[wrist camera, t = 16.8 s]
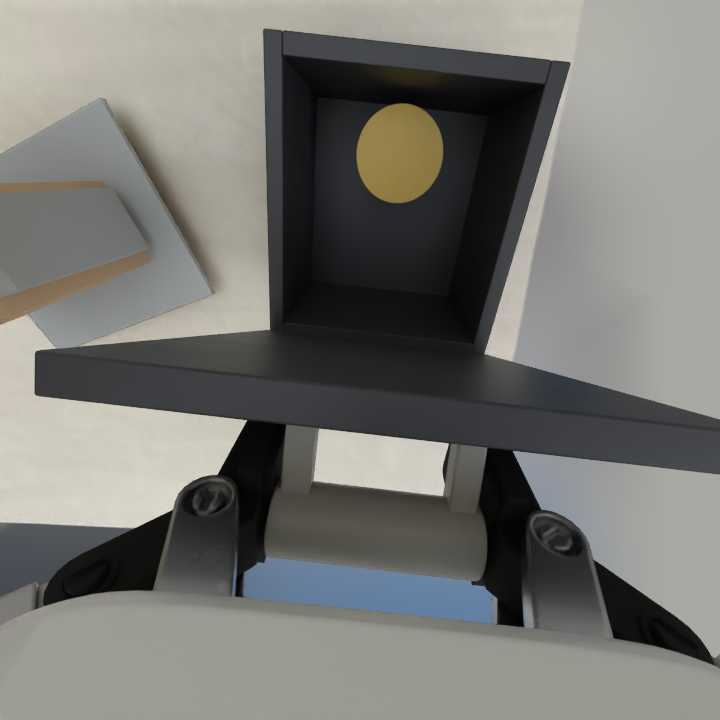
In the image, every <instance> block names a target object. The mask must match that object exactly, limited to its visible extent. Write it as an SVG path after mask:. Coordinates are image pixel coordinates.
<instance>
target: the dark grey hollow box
mask: <svg viewBox="0 0 720 720" xmlns="http://www.w3.org/2000/svg"><path fill="white" fill-rule="evenodd" d="M263 40H264V83H265V126H266V169H267V212H268V255H269V298H270V330H274V331H283V332H292V333H301V334H309V335H318V336H327V337H336V338H344V339H353V340H362V341H371V342H380V343H388V344H397V345H406V346H415V347H423V348H432V349H441V350H450V351H459V352H467V353H476V354H484V353H485V350H486V346H487V343H488V339H489V336H490V333H491V329H492V326H493V323H494V319H495V316H496V313H497V309H498V306H499V303H500V299H501V296H502V292H503V289H504V286H505V282H506V279H507V276H508V272H509V269H510V266H511V262H512V259H513V256H514V252H515V249H516V245H517V242H518V239H519V235H520V232H521V229H522V225H523V222H524V219H525V215H526V212H527V209H528V205H529V202H530V198H531V195H532V192H533V188H534V185H535V182H536V178H537V175H538V172H539V168H540V165H541V162H542V158H543V155H544V151H545V148H546V145H547V141H548V138H549V135H550V131H551V128H552V125H553V121H554V118H555V114H556V111H557V108H558V104H559V101H560V98H561V94H562V91H563V88H564V84H565V81H566V78H567V74H568V71H569V67H570V62H563V61H554V60H553V61H551V60H547V59H537V58H528V57H519V56H510V55H501V54H492V53H483V52H474V51H465V50H456V49H447V48H438V47H429V46H420V45H411V44H402V43H392V42H383V41H374V40H365V39H356V38H347V37H338V36H329V35H320V34H311V33H302V32H293V31H283V32H282V31H281V30H273V29H264V30H263ZM399 103H406V104H412V105H415V106H417V107H419V108H421V109H423V110H424V111H426V112H427V113H428V114H429V115H430V116H431V117H432V118H433V120H434V121H435V123H436V124H437V126H438V128H439V131H440V133H441V137H442V141H443V160H442V164H441V168H440V171H439V174H438V176H437V178H436V179H435V181H434V183H433V184H432V185H431V187H430V188H429V189H428V190H427V191H426V192H425V193H424V194H422V195H421V196H419V197H418V198H416V199H414V200H411V201H409V202H405V203H391V202H387V201H384V200H381V199H379V198H378V197H376V196H375V195H373V194H372V193H371V192H370V191H369V190H368V188H367V187H366V186H365V184H364V183H363V181H362V179H361V177H360V174H359V171H358V167H357V159H356V154H357V145H358V141H359V137H360V135H361V132H362V130H363V128H364V126H365V125H366V123H367V122H368V121H369V120H370V118H371V117H372V116H373V115H374V114H376V113H377V112H378V111H380V110H381V109H383V108H385V107H387V106H389V105H393V104H399Z"/></svg>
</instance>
